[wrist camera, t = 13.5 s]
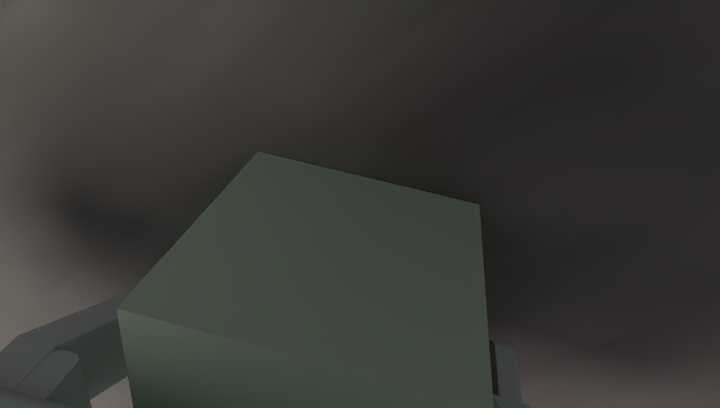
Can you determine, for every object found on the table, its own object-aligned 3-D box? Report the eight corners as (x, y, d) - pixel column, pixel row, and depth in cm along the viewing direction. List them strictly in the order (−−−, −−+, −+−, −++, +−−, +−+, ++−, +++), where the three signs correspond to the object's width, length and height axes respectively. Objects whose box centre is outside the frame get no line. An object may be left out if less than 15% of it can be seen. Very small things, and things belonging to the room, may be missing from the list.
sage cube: (258, 151, 12) (116, 308, 7) (479, 204, 12) (493, 411, 7) (250, 308, 15) (148, 493, 10) (423, 355, 15) (405, 571, 10)
